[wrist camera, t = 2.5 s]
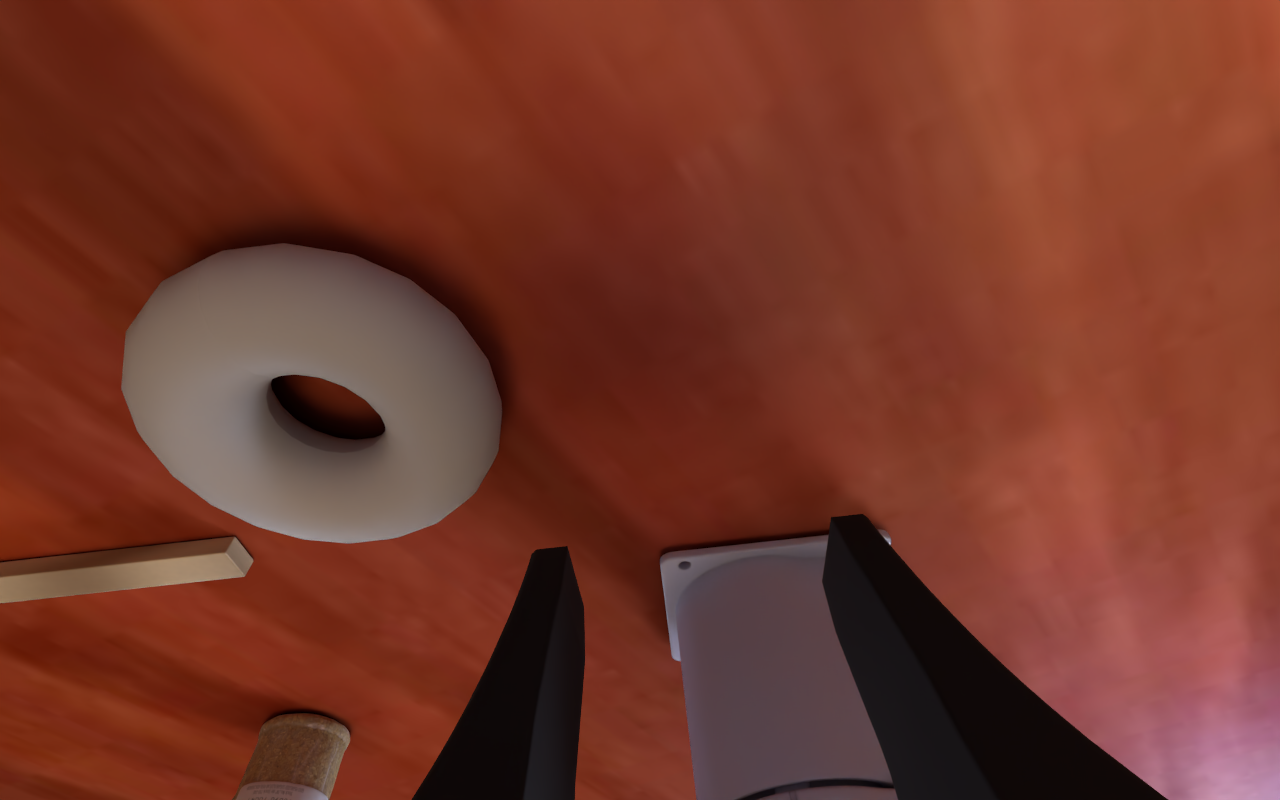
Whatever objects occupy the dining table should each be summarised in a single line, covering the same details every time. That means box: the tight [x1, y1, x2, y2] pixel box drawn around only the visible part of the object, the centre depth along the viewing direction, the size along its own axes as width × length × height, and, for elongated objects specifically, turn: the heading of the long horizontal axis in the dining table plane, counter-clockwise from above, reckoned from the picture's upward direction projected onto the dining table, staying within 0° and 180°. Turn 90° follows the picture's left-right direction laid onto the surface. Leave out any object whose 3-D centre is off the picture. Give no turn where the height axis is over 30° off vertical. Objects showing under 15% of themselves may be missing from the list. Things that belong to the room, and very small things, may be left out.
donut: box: [121, 243, 502, 543], centre depth 17 cm, size 10×4×10 cm
